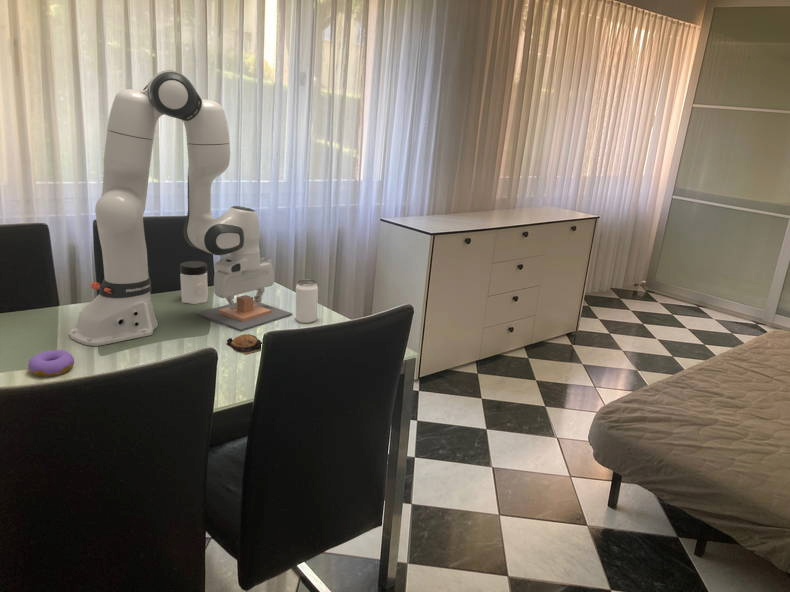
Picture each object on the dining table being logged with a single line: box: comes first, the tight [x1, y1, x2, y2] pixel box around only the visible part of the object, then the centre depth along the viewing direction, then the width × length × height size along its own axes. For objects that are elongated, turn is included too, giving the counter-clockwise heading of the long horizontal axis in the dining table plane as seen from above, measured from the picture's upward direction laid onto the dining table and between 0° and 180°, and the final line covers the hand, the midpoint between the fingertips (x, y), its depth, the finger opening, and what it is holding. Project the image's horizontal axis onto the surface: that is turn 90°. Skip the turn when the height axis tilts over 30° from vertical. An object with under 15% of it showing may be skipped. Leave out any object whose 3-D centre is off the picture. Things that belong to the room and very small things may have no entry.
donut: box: [27, 349, 75, 377], centre depth 143 cm, size 10×9×5 cm
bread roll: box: [226, 333, 263, 356], centre depth 163 cm, size 11×8×4 cm
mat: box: [196, 299, 293, 332], centre depth 186 cm, size 20×20×1 cm
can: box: [295, 278, 319, 324], centre depth 183 cm, size 6×6×12 cm
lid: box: [219, 294, 271, 322], centre depth 185 cm, size 11×11×5 cm
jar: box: [179, 260, 209, 305], centre depth 195 cm, size 9×8×12 cm
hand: (245, 305), depth 185 cm, fingers open, 8 cm apart
